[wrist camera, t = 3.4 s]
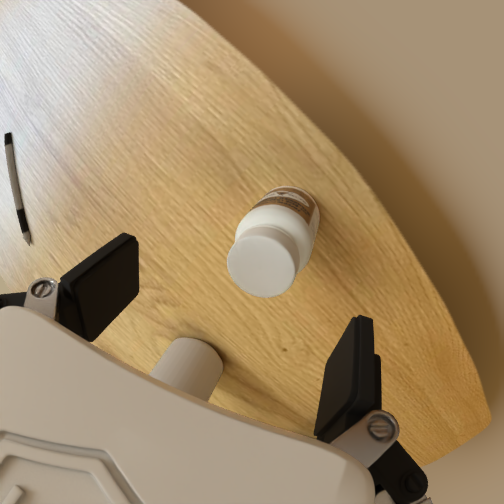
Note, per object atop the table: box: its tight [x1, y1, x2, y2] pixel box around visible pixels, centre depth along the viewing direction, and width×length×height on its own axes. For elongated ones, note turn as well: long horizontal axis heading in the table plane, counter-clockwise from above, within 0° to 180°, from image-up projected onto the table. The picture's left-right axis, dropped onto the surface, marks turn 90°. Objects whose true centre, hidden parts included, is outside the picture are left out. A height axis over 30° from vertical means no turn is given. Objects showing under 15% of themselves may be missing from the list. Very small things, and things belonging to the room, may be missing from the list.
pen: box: [5, 133, 31, 246], centre depth 29 cm, size 1×16×1 cm, turn 1°
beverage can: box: [149, 338, 223, 402], centre depth 26 cm, size 6×6×12 cm
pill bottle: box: [227, 186, 320, 298], centre depth 17 cm, size 4×4×8 cm
